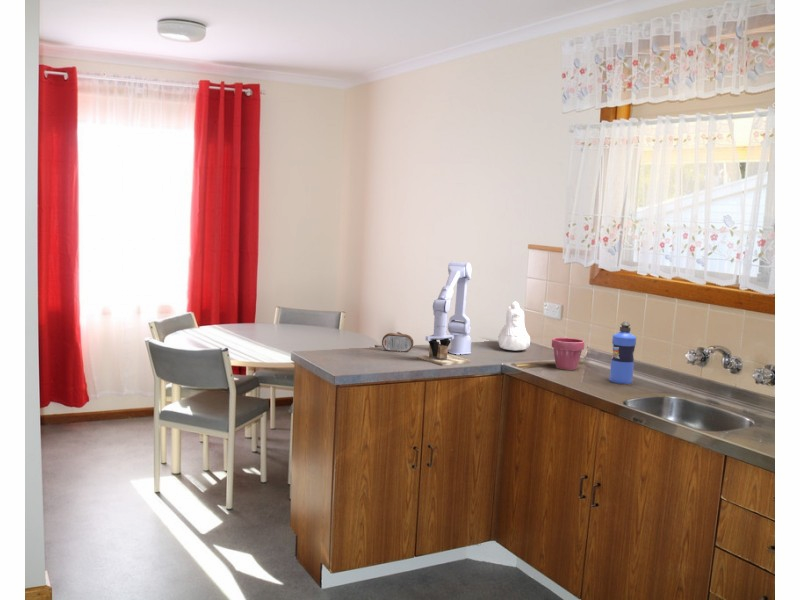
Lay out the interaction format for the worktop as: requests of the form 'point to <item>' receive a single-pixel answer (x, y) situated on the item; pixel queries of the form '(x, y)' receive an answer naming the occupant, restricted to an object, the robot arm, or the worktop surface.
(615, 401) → the worktop surface
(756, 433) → the worktop surface
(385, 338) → the tin
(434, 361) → the board
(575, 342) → the plant pot
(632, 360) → the water bottle
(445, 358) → the block
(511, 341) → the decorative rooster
